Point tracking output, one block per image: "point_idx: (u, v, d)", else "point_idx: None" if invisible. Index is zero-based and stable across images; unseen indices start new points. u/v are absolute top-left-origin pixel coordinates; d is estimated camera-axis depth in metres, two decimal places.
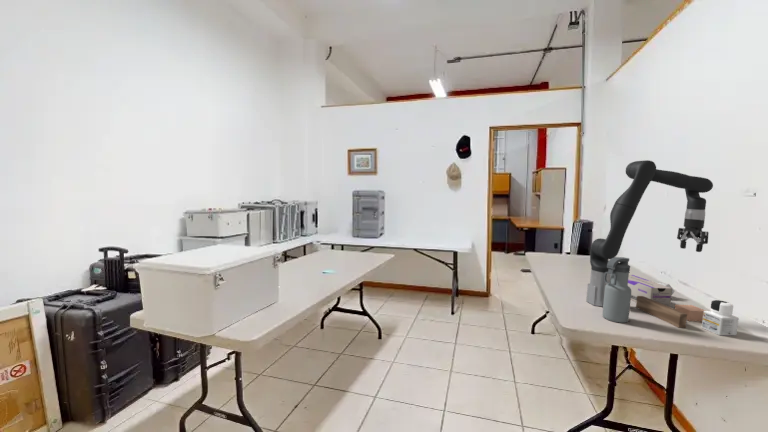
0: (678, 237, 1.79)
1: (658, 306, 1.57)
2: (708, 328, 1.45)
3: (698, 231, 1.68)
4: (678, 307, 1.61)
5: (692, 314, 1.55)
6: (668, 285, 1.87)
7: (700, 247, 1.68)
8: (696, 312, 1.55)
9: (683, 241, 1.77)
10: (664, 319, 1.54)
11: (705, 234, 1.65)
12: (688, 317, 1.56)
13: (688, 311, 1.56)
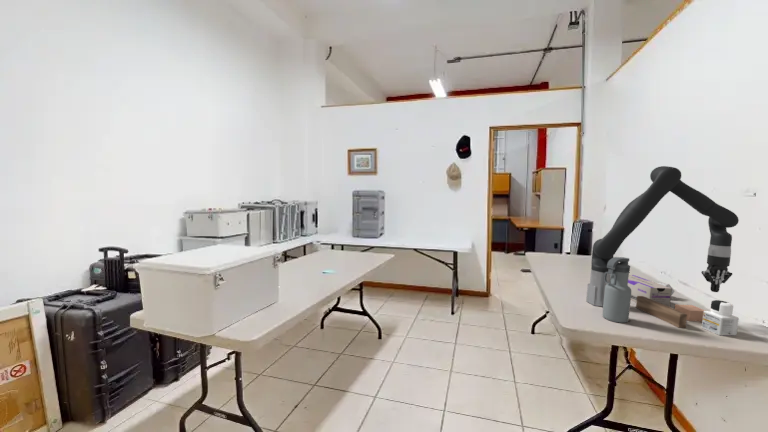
0: (713, 280, 1.57)
1: (658, 306, 1.57)
2: (708, 328, 1.45)
3: None
4: (678, 307, 1.61)
5: (691, 314, 1.55)
6: (668, 285, 1.87)
7: None
8: (696, 312, 1.55)
9: None
10: (664, 319, 1.54)
11: None
12: (687, 317, 1.56)
13: (687, 311, 1.56)
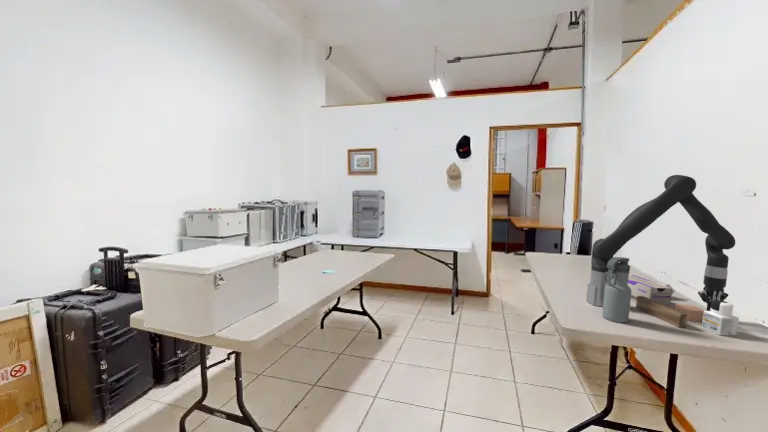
0: (709, 301, 1.58)
1: (658, 306, 1.57)
2: (708, 328, 1.45)
3: (723, 290, 1.58)
4: (678, 307, 1.61)
5: (691, 314, 1.55)
6: (668, 285, 1.87)
7: None
8: (695, 312, 1.55)
9: None
10: (664, 319, 1.54)
11: None
12: (687, 317, 1.56)
13: (687, 311, 1.56)
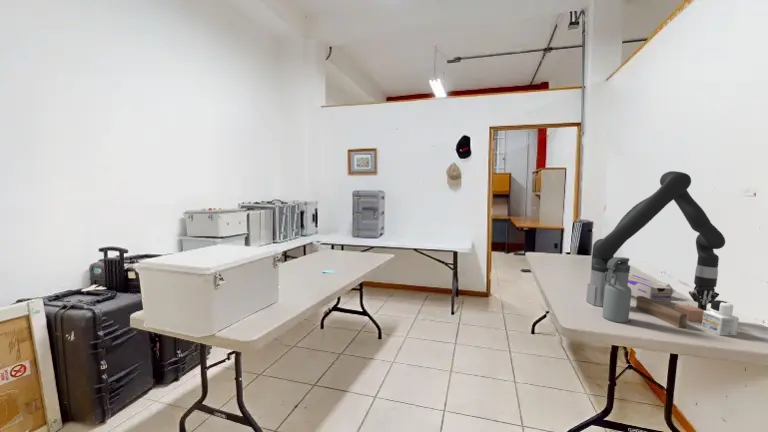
0: (700, 301, 1.58)
1: (658, 306, 1.57)
2: (708, 328, 1.45)
3: (714, 290, 1.58)
4: (677, 307, 1.61)
5: (690, 314, 1.55)
6: (668, 285, 1.87)
7: None
8: (695, 312, 1.55)
9: None
10: (664, 319, 1.54)
11: None
12: None
13: (686, 311, 1.56)
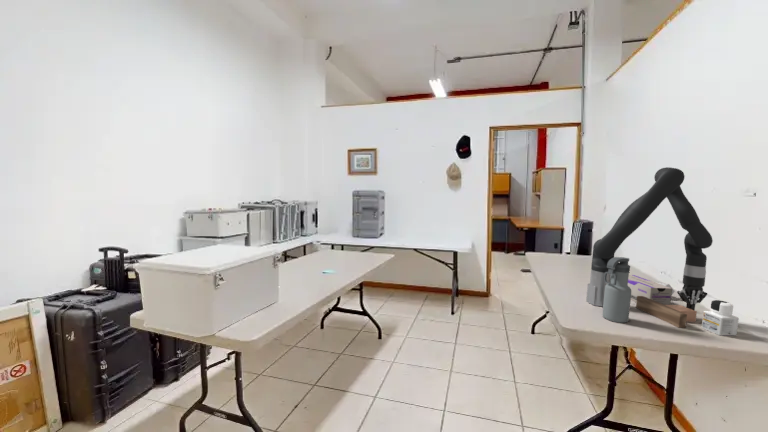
0: (688, 300, 1.57)
1: (658, 306, 1.57)
2: (708, 328, 1.45)
3: (702, 290, 1.57)
4: None
5: None
6: (668, 285, 1.87)
7: None
8: (685, 312, 1.54)
9: None
10: (664, 319, 1.54)
11: None
12: None
13: None
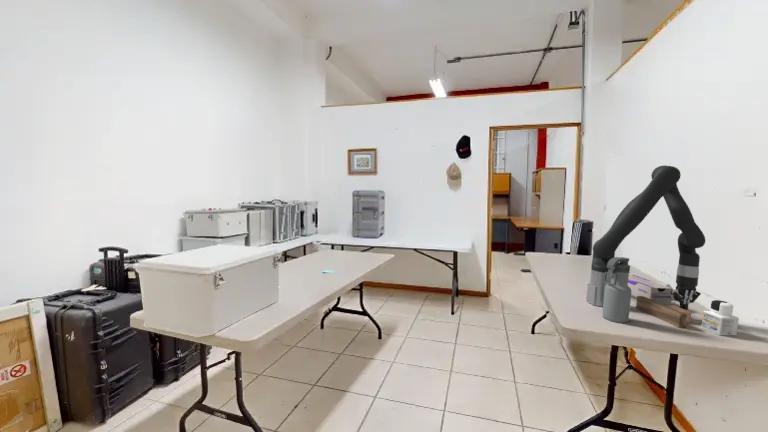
0: (681, 300, 1.57)
1: (658, 306, 1.57)
2: (708, 328, 1.45)
3: (695, 289, 1.57)
4: None
5: None
6: (668, 285, 1.87)
7: None
8: None
9: None
10: (664, 319, 1.54)
11: None
12: None
13: None
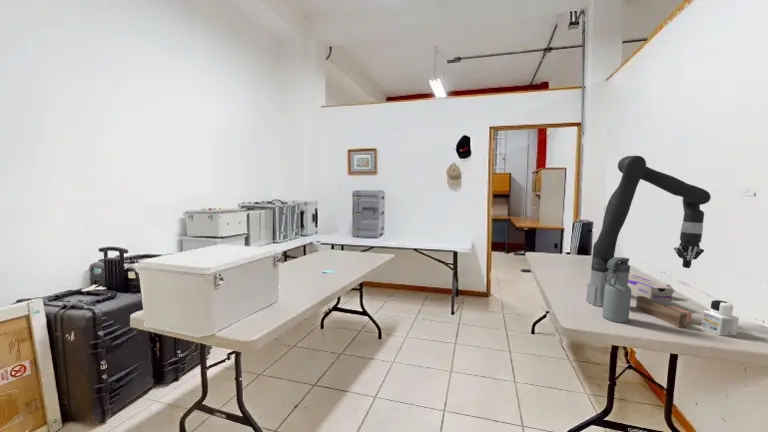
0: (685, 256, 1.61)
1: (658, 306, 1.57)
2: (708, 328, 1.45)
3: (699, 246, 1.60)
4: None
5: None
6: (668, 285, 1.87)
7: None
8: None
9: None
10: (664, 319, 1.54)
11: None
12: None
13: None
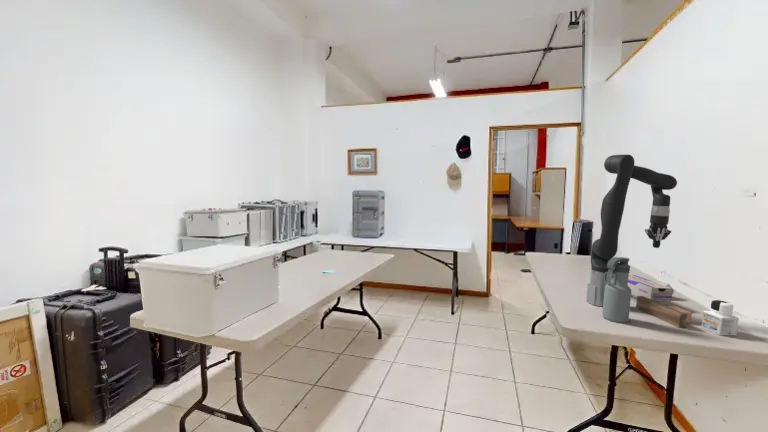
0: (654, 237, 1.77)
1: (658, 306, 1.57)
2: (708, 328, 1.45)
3: None
4: None
5: None
6: (668, 285, 1.87)
7: None
8: None
9: None
10: (664, 319, 1.54)
11: None
12: None
13: None
